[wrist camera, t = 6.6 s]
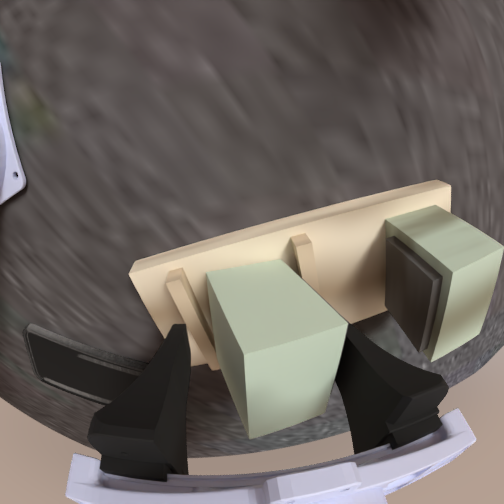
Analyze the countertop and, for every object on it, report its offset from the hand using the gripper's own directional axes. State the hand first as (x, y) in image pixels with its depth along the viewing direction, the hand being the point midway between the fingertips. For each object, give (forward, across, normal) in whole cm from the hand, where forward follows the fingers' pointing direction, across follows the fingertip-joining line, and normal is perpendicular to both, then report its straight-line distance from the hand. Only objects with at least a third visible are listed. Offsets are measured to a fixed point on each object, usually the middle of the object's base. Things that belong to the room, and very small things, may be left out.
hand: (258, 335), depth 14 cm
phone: (+5, +13, +9) cm, 17 cm away
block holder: (+4, -4, -1) cm, 6 cm away
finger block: (+2, 0, 0) cm, 2 cm away
